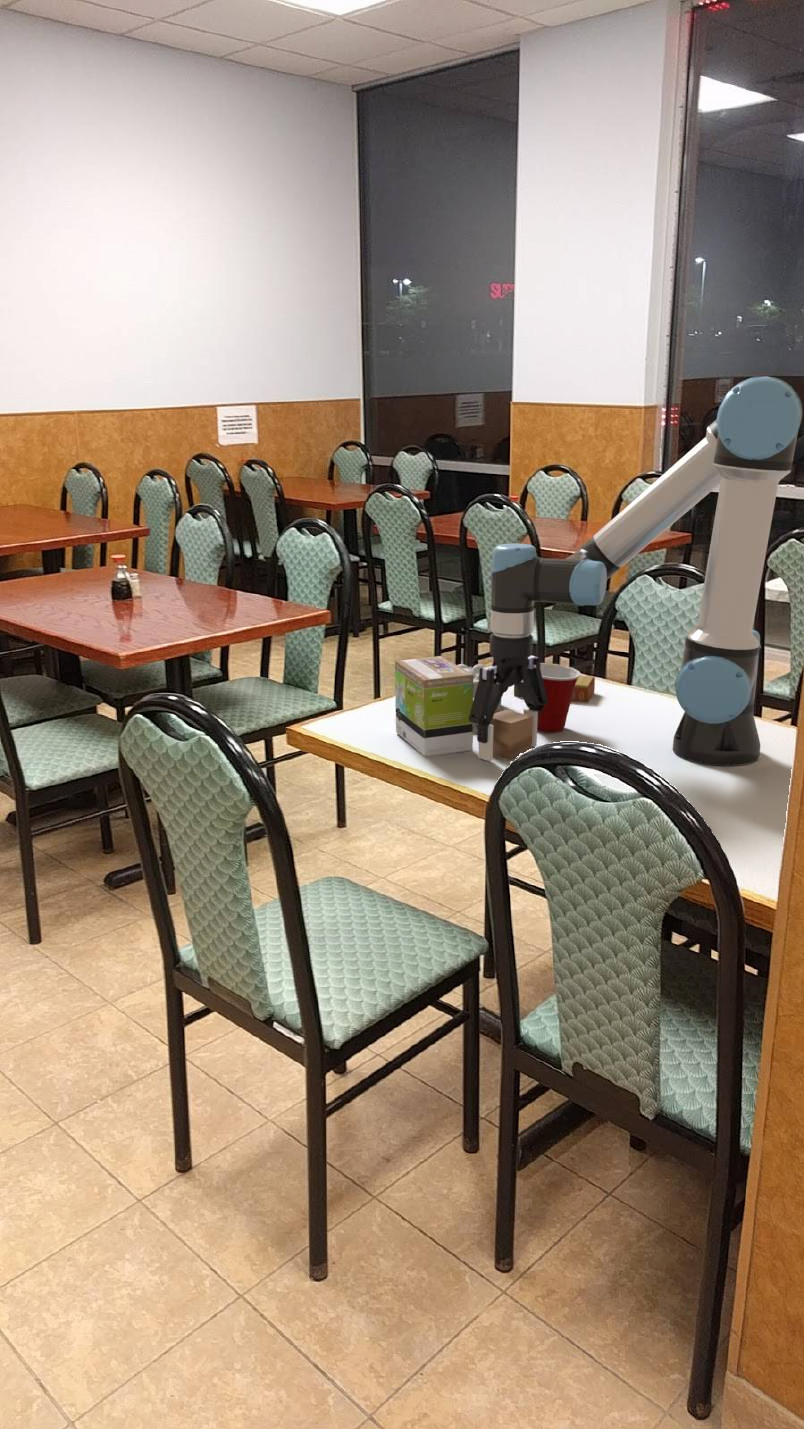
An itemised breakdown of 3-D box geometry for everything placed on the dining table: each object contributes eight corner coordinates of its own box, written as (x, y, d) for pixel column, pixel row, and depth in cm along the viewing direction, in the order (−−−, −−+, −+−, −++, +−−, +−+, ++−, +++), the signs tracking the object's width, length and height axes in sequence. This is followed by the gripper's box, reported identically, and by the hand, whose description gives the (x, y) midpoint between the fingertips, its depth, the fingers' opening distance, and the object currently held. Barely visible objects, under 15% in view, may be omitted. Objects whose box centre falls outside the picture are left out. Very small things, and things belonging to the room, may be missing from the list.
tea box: (393, 734, 207) (393, 658, 202) (442, 728, 210) (442, 654, 206) (423, 758, 193) (423, 677, 189) (474, 751, 197) (475, 672, 192)
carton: (587, 704, 227) (588, 685, 226) (512, 698, 232) (513, 678, 231) (594, 694, 234) (595, 675, 233) (521, 688, 239) (522, 669, 238)
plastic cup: (577, 738, 203) (579, 677, 200) (519, 735, 206) (521, 674, 202) (579, 722, 214) (582, 663, 210) (524, 719, 216) (526, 660, 212)
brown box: (531, 753, 195) (532, 716, 193) (509, 761, 192) (510, 723, 189) (506, 745, 200) (507, 709, 198) (484, 753, 196) (485, 716, 194)
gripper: (538, 620, 200) (534, 733, 206) (448, 640, 184) (447, 761, 190) (570, 626, 194) (565, 741, 201) (481, 647, 179) (478, 771, 185)
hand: (507, 751), depth 195 cm, fingers open, 11 cm apart
